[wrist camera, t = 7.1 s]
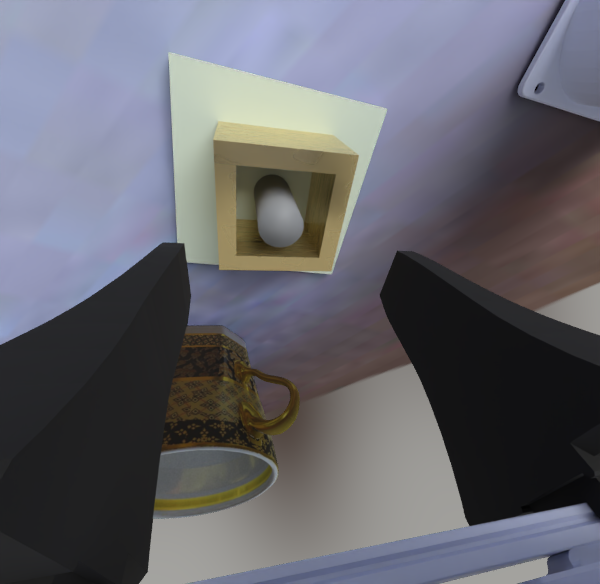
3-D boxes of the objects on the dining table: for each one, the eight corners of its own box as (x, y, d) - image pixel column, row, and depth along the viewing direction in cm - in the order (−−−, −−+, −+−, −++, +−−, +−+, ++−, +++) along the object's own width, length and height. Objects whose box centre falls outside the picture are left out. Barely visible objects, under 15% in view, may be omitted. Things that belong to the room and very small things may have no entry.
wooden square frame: (333, 135, 15) (359, 155, 11) (315, 235, 18) (331, 271, 15) (218, 121, 13) (213, 139, 10) (222, 231, 17) (219, 269, 14)
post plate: (381, 107, 15) (431, 123, 11) (328, 267, 21) (350, 315, 17) (171, 52, 12) (142, 49, 8) (180, 254, 18) (165, 307, 14)
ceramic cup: (207, 399, 28) (197, 525, 21) (110, 354, 22) (44, 508, 15) (315, 332, 25) (351, 454, 17) (234, 259, 19) (233, 394, 11)
